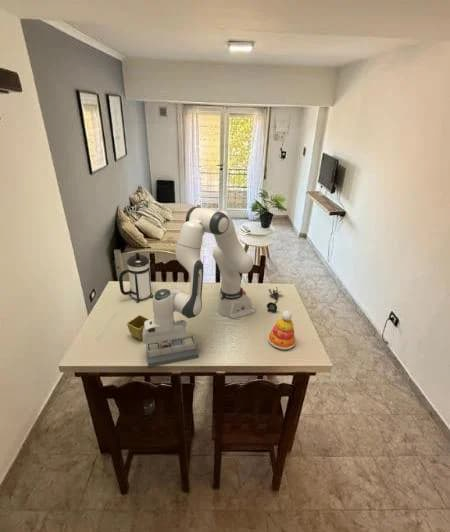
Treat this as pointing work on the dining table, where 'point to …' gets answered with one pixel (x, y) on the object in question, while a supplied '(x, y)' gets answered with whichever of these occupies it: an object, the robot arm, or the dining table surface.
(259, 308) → the dining table surface
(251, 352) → the dining table surface
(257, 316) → the dining table surface
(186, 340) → the key ivory
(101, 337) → the butter knife
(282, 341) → the stacking toy
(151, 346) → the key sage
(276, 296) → the artificial flower
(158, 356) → the keypad
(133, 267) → the coffee press
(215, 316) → the dining table surface
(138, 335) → the flower pot
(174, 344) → the key slate
